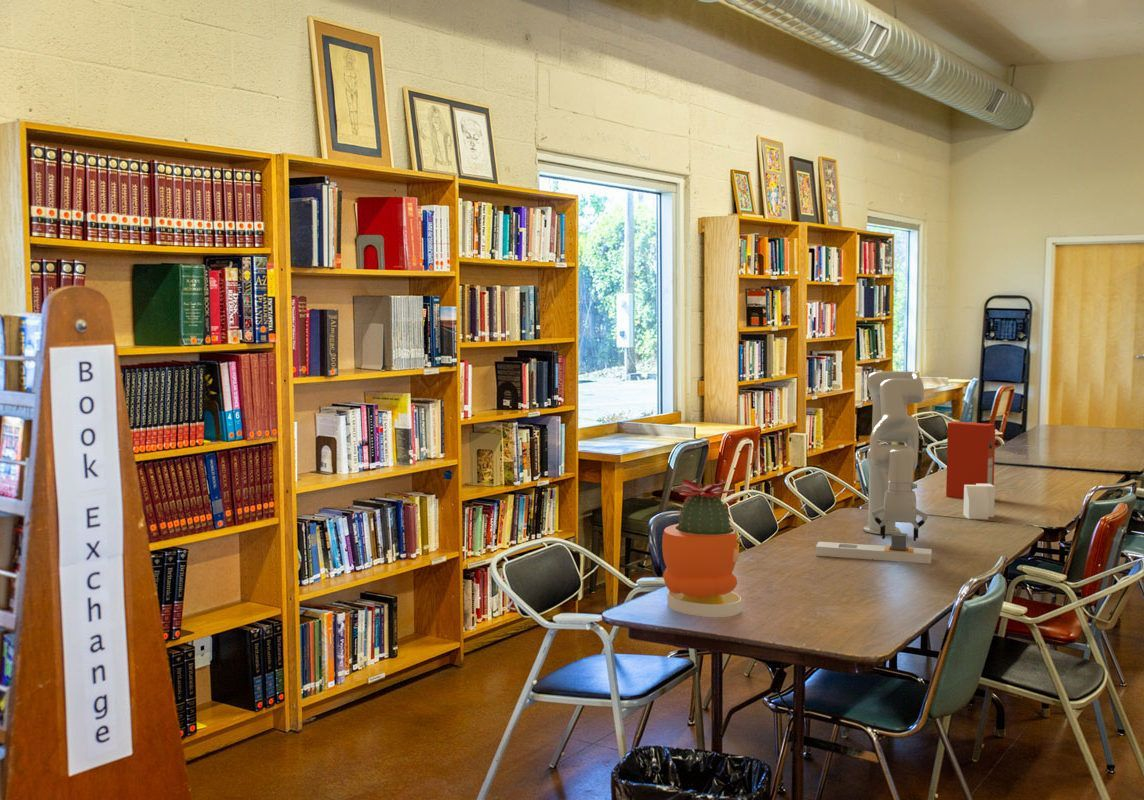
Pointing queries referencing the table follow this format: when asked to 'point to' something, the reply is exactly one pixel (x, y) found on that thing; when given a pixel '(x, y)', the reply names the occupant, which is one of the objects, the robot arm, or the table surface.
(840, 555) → the rail
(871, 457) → the robot arm
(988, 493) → the white upright cube
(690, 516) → the potted cactus
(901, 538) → the steel block
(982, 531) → the table surface
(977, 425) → the file binder
